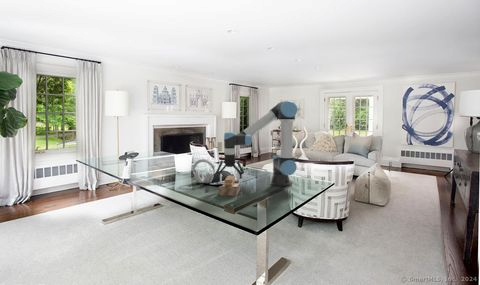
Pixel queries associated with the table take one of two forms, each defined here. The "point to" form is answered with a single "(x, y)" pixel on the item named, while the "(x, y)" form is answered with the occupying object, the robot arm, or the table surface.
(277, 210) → the table surface
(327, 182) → the table surface
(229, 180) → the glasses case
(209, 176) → the headphones
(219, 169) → the robot arm
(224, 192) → the stand
